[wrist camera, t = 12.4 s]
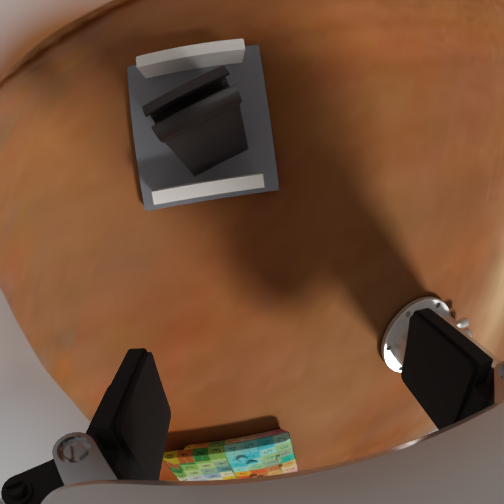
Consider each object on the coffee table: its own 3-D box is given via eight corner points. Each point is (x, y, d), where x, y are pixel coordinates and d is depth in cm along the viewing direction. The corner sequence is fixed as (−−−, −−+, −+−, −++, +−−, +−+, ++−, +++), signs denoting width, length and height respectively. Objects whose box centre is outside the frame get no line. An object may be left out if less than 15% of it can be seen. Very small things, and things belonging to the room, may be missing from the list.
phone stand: (248, 149, 30) (264, 139, 18) (194, 176, 30) (178, 182, 19) (209, 74, 27) (203, 26, 16) (156, 101, 28) (121, 67, 16)
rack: (257, 49, 28) (263, 30, 23) (277, 189, 33) (287, 193, 27) (130, 70, 27) (115, 55, 22) (148, 209, 32) (134, 217, 27)
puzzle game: (300, 478, 41) (188, 495, 41) (295, 458, 46) (189, 476, 45) (291, 442, 38) (161, 462, 37) (285, 420, 43) (164, 441, 42)
